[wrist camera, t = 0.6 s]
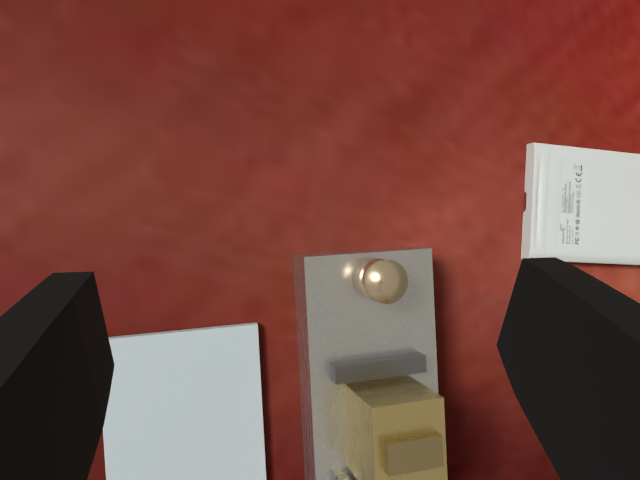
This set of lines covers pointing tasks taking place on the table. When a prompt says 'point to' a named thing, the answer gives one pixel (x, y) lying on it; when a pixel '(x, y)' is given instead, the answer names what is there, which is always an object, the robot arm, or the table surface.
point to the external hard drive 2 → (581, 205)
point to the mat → (186, 406)
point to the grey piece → (358, 338)
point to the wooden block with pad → (395, 430)
